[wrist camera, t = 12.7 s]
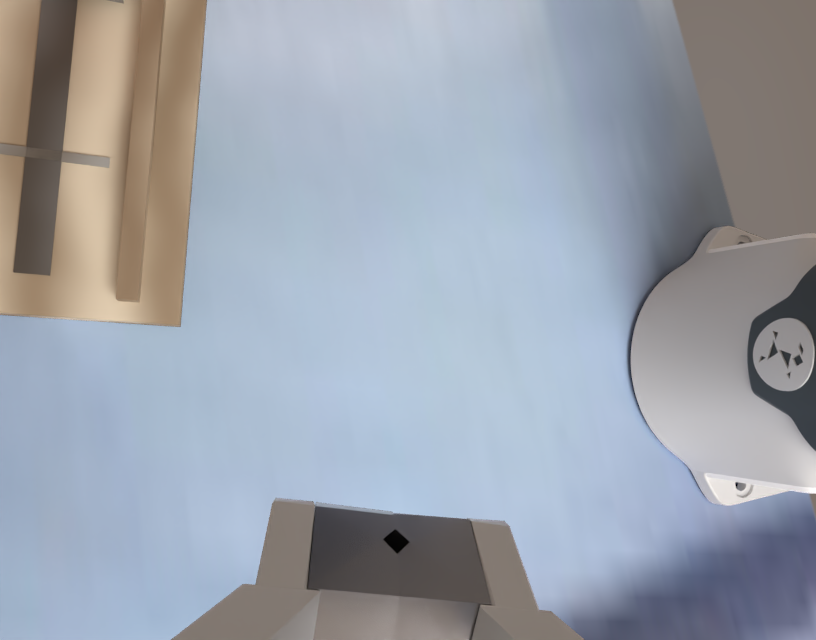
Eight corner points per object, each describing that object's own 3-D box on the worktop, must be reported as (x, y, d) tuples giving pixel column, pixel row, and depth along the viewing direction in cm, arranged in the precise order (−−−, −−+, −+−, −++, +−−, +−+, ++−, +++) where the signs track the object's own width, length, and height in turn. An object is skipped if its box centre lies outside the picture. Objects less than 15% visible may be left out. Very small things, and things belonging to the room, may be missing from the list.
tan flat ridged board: (214, -93, 38) (215, -127, 36) (180, 327, 36) (178, 323, 34) (-71, -162, 34) (-93, -205, 32) (-128, 306, 32) (-157, 300, 30)
